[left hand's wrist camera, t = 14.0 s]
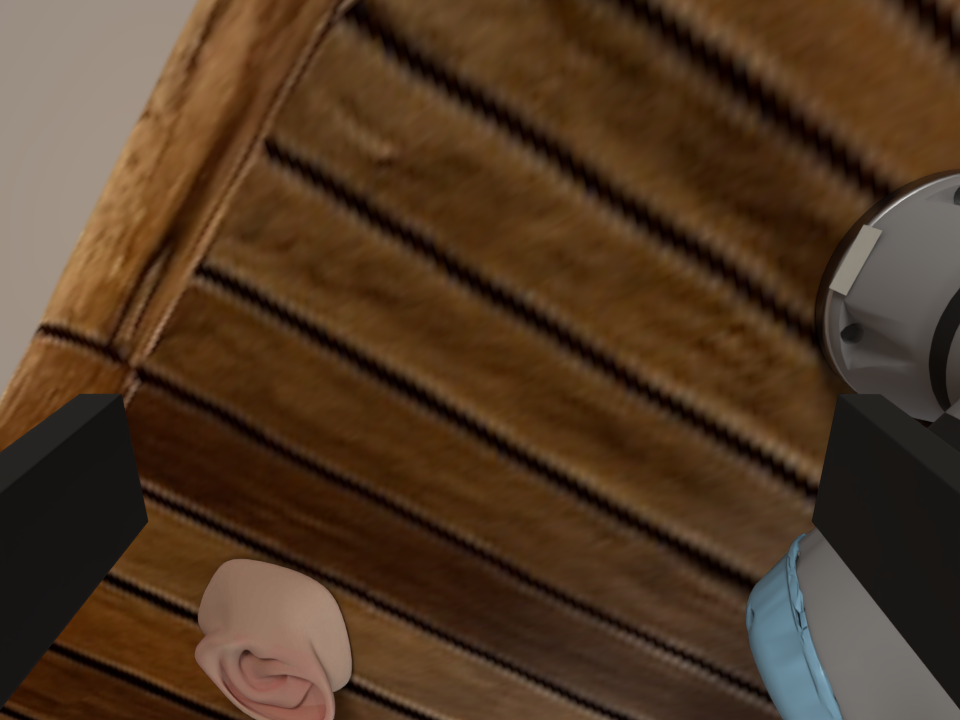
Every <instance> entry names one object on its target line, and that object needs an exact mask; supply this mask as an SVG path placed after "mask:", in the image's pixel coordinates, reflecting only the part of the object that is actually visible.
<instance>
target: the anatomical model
mask: <svg viewBox="0 0 960 720" xmlns="http://www.w3.org/2000/svg"><path fill="white" fill-rule="evenodd" d="M198 622H199V625H200V628H201V630H202V631H203V633H204V634H205V637H204V638H203V639H202V640H201V642H200V643H199V644H198V646H197V648H196V650H195V658H196V661H197V663H198V664H199V665H200V667H201V668H202V669H203V670H204V671H205V673H206V674H207V675H208V676H209V677H210V678H211V679H212V681H213V682H214V683H215V684H216V685H217V686H218V688H219V689H220V690H221V691H222V692H223V693H224V694H225V695H226V697H227V698H228V699H229V700H230V701H231V702H232V703H233V704H234V705H236V706H237V707H238V708H239V709H240V710H242V711H243V712H244V713H246V714H247V715H249V716H251V717H252V718H254V719H256V720H333V719H334V715H335V700H334V695H333V692H335V691H337V690H339V689H341V688H342V687H343V686H345V685H346V684H347V682H348V681H349V679H350V677H351V672H352V658H351V650H350V644H349V639H348V635H347V631H346V627H345V623H344V620H343V617H342V614H341V612H340V609H339V607H338V605H337V603H336V601H335V599H334V598H333V596H332V595H331V593H330V592H329V591H328V590H327V589H326V588H325V587H324V586H323V585H321V584H320V583H319V582H317V581H315V580H314V579H312V578H310V577H308V576H306V575H304V574H302V573H299V572H297V571H294V570H291V569H289V568H285V567H282V566H278V565H275V564H270V563H266V562H262V561H256V560H250V559H233V560H230V561H227V562H225V563H224V564H222V565H221V566H220V567H219V568H218V570H217V571H216V573H215V574H214V575H213V577H212V579H211V581H210V583H209V585H208V587H207V589H206V591H205V593H204V595H203V598H202V601H201V605H200V608H199V613H198Z"/></svg>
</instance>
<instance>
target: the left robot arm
mask: <svg viewBox="0 0 960 720" xmlns="http://www.w3.org/2000/svg"><path fill="white" fill-rule="evenodd" d="M816 328H817V335H818V339H819V343H820V346H821V349H822V351H823V354H824V356H825V358H826V360H827V362H828V364H829V365H830V367H831V368H832V369H833V371H834V372H835V374H836V375H837V376H838V377H839V378H840V379H841V380H842V381H843V382H844V383H845V384H847V385H848V386H849V387H850V388H851V389H853V390H854V391H855V392H857V393H858V394H838V398H837V403H836V408H835V413H834V417H833V422H832V427H831V432H830V437H829V441H828V446H827V451H826V456H825V461H824V465H823V470H822V475H821V480H820V484H819V489H818V494H817V499H816V504H815V508H814V513H813V518H812V522H813V524H814V525H815V526H816V527H815V528H814V529H813V530H812V531H810V532H809V533H808V534H804V533H803V534H801V535H800V536H798V537H797V538H796V539H795V540H794V541H793V542H792V544H791V546H790V550H789V551H788V552H787V553H786V554H785V556H784V557H783V558H782V559H781V560H780V561H779V562H778V563H777V564H776V565H775V566H774V567H773V568H772V569H771V570H770V571H769V572H768V573H767V574H766V575H765V576H764V577H763V578H762V579H761V580H760V581H759V582H758V583H757V584H756V585H755V587H754V588H753V590H752V592H751V593H750V596H749V599H748V602H747V607H746V626H747V630H748V634H749V644H750V648H751V651H752V654H753V657H754V660H755V663H756V666H757V668H758V671H759V673H760V676H761V678H762V680H763V683H764V685H765V687H766V689H767V691H768V693H769V695H770V697H771V699H772V701H773V703H774V705H775V707H776V708H777V710H778V712H779V714H780V716H781V717H782V719H783V720H960V169H955V170H948V171H944V172H939V173H935V174H932V175H929V176H925V177H923V178H920V179H918V180H915V181H913V182H911V183H909V184H907V185H905V186H903V187H901V188H899V189H897V190H895V191H894V192H892V193H891V194H889V195H887V196H886V197H884V198H883V199H882V200H880V201H879V202H878V203H876V204H875V205H874V206H873V207H872V208H870V209H869V210H868V211H867V212H866V213H865V214H864V215H863V216H862V217H861V218H860V219H859V220H858V221H857V222H856V223H855V224H854V225H853V226H852V227H851V229H850V230H849V231H848V232H847V233H846V235H845V236H844V237H843V239H842V240H841V242H840V243H839V244H838V246H837V248H836V249H835V251H834V253H833V255H832V256H831V258H830V260H829V263H828V265H827V267H826V269H825V272H824V274H823V277H822V280H821V284H820V287H819V291H818V297H817V303H816ZM914 418H917V419H922V420H926V421H931V422H933V423H932V424H931V425H930V426H929V427H928V428H926V427H924V426H923V425H922V424H920V423H919V422H918V421H916V420H915V419H914ZM147 522H148V518H147V513H146V508H145V504H144V499H143V494H142V489H141V484H140V480H139V475H138V470H137V465H136V461H135V456H134V451H133V446H132V441H131V437H130V432H129V427H128V422H127V417H126V413H125V408H124V403H123V398H122V394H79V395H78V396H76V397H75V398H74V399H72V400H71V401H69V402H68V403H67V404H65V405H64V406H63V407H61V408H60V409H59V410H57V411H56V412H55V413H53V414H52V415H50V416H49V417H48V418H46V419H45V420H44V421H42V422H41V423H40V424H38V425H37V426H36V427H34V428H33V429H31V430H30V431H29V432H27V433H26V434H25V435H23V436H22V437H21V438H19V439H18V440H17V441H15V442H14V443H12V444H11V445H10V446H8V447H7V448H6V449H4V450H3V451H2V452H0V709H1V708H2V707H3V706H4V704H5V703H6V702H7V701H8V699H9V698H10V697H11V695H12V694H13V693H14V692H15V690H16V689H17V688H18V687H19V685H20V684H21V683H22V681H23V680H24V679H25V678H26V676H27V675H28V674H29V673H30V671H31V670H32V669H33V667H34V666H35V665H36V664H37V662H38V661H39V660H40V659H41V657H42V656H43V655H44V653H45V652H46V651H47V650H48V648H49V647H50V646H51V645H52V643H53V642H54V641H55V639H56V638H57V637H58V636H59V634H60V633H61V632H62V631H63V629H64V628H65V627H66V625H67V624H68V623H69V622H70V620H71V619H72V618H73V617H74V615H75V614H76V613H77V611H78V610H79V609H80V608H81V606H82V605H83V604H84V603H85V601H86V600H87V599H88V597H89V596H90V595H91V594H92V592H93V591H94V590H95V589H96V587H97V586H98V585H99V583H100V582H101V581H102V580H103V578H104V577H105V576H106V575H107V573H108V572H109V571H110V569H111V568H112V567H113V566H114V564H115V563H116V562H117V561H118V559H119V558H120V557H121V555H122V554H123V553H124V552H125V550H126V549H127V548H128V547H129V545H130V544H131V543H132V541H133V540H134V539H135V538H136V536H137V535H138V534H139V533H140V531H141V530H142V529H143V527H144V526H145V525H146V524H147Z"/></svg>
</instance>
